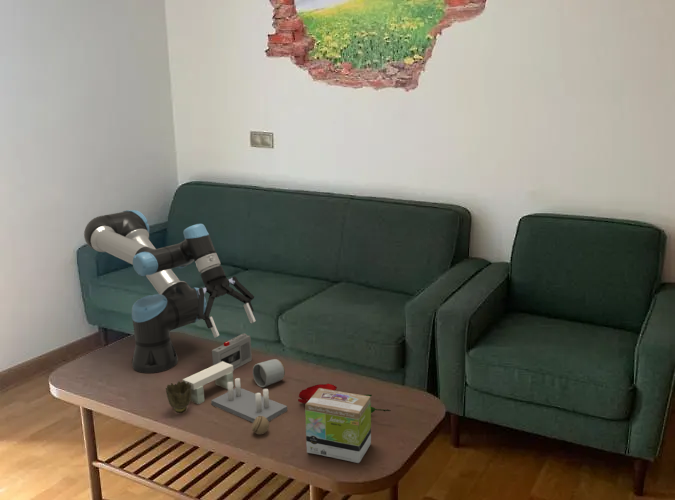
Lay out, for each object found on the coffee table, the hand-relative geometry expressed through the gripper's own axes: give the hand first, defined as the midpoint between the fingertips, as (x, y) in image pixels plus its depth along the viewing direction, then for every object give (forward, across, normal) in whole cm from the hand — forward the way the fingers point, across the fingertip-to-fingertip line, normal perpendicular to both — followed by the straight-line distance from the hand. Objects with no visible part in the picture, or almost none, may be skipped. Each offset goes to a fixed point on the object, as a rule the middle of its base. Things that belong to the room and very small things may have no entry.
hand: (235, 329), depth 226 cm
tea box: (+43, -5, -42) cm, 60 cm away
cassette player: (+11, 0, +13) cm, 17 cm away
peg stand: (+24, -11, -12) cm, 29 cm away
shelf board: (+11, -15, 0) cm, 18 cm away
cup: (+17, -27, -2) cm, 32 cm away
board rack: (+15, -15, +2) cm, 22 cm away
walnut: (+31, -16, -24) cm, 43 cm away
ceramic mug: (+20, +2, -1) cm, 20 cm away
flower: (+37, +9, -29) cm, 47 cm away
